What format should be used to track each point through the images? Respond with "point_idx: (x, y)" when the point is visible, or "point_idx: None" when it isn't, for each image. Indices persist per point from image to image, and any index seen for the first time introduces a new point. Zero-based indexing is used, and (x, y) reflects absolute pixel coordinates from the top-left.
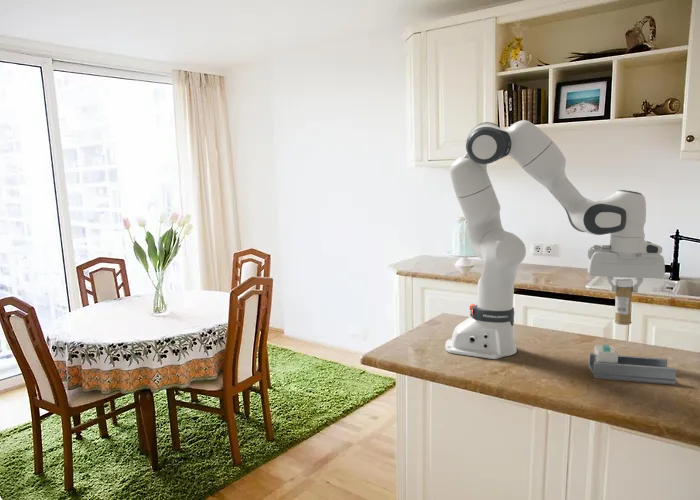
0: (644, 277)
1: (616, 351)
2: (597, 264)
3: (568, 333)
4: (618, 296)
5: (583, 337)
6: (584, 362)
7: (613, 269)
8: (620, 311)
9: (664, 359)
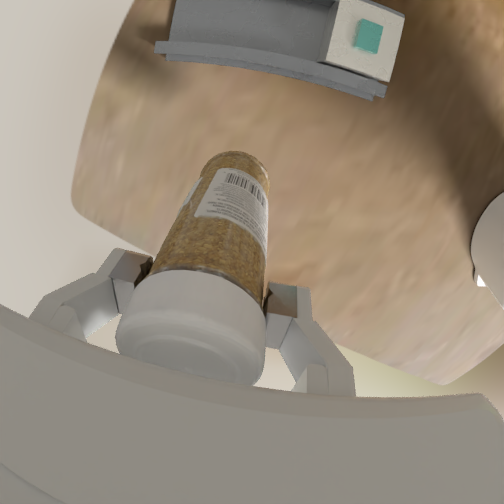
0: (10, 311)
1: (341, 8)
2: (483, 497)
3: None
4: (258, 246)
5: None
6: (368, 123)
7: (331, 482)
8: (254, 185)
9: (161, 44)
